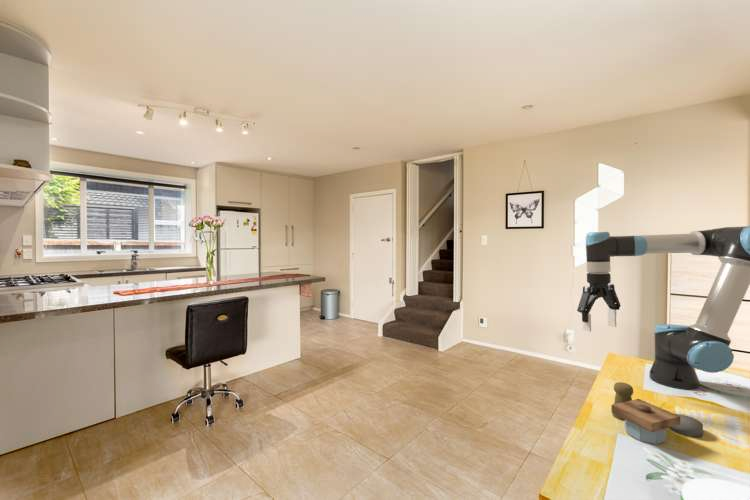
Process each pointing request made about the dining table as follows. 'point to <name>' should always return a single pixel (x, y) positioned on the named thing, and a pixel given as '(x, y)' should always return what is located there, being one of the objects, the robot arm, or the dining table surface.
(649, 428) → the lid
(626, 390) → the pepper shaker
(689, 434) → the grey flattened dome
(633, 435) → the bowl
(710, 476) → the dining table surface
